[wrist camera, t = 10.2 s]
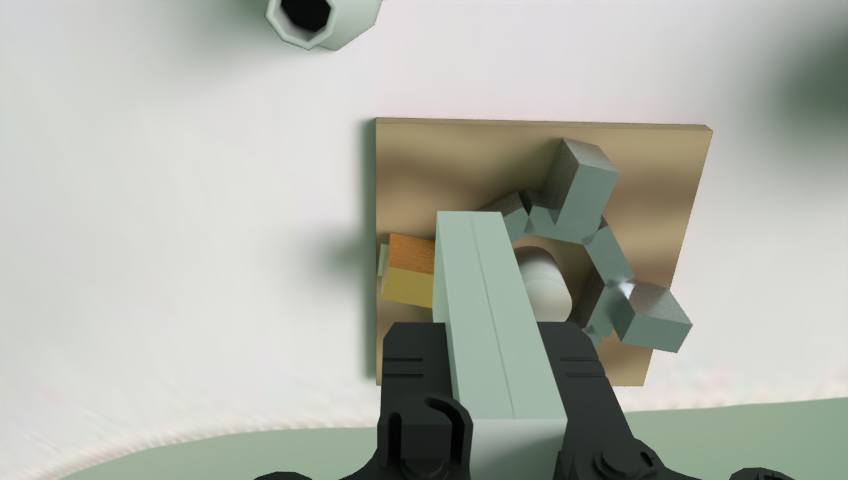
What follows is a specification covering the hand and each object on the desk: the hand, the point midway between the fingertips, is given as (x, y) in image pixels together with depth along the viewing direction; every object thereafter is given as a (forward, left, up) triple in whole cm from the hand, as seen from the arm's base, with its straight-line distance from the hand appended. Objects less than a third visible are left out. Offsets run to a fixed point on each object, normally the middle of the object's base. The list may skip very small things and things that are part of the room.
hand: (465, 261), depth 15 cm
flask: (-3, -6, -27) cm, 28 cm away
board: (+16, +8, -26) cm, 32 cm away
